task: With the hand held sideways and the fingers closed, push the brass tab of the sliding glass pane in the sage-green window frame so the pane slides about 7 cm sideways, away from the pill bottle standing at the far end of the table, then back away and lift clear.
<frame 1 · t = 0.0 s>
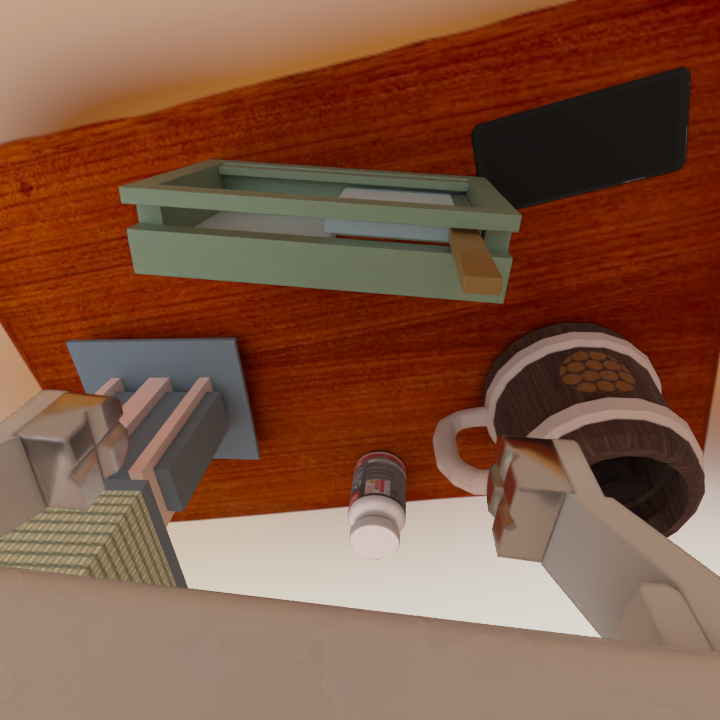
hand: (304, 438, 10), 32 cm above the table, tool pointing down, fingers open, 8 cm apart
desk lamp: (178, 389, 50), on the table
smartphone: (574, 146, 36), on the table
window frame: (345, 200, 39), on the table
mug: (532, 389, 46), on the table
pill bottle: (380, 468, 53), on the table
window pane: (402, 225, 28), point 11 cm above the table, slide at 0.0 cm
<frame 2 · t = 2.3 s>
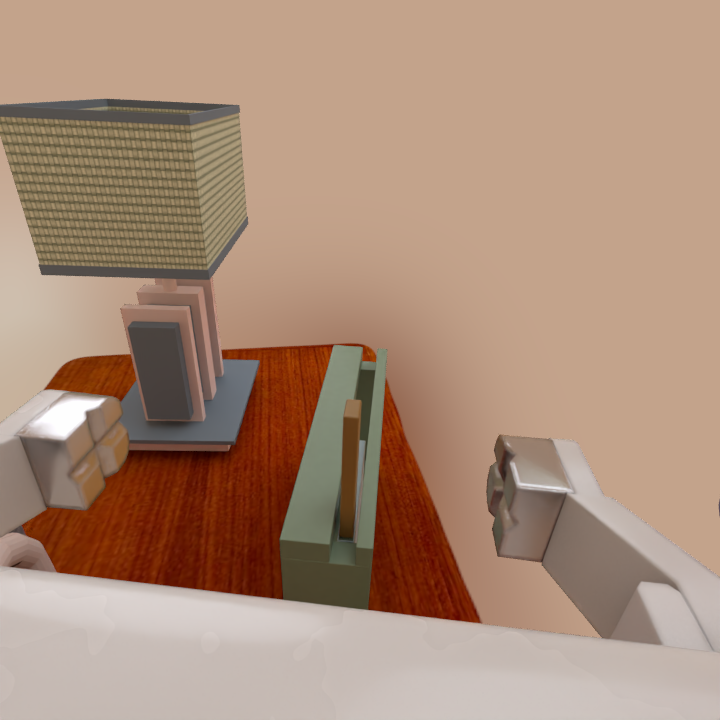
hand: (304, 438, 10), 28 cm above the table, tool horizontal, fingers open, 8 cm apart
desk lamp: (191, 412, 57), on the table
window frame: (343, 546, 41), on the table
window pane: (352, 494, 32), point 11 cm above the table, slide at 0.0 cm
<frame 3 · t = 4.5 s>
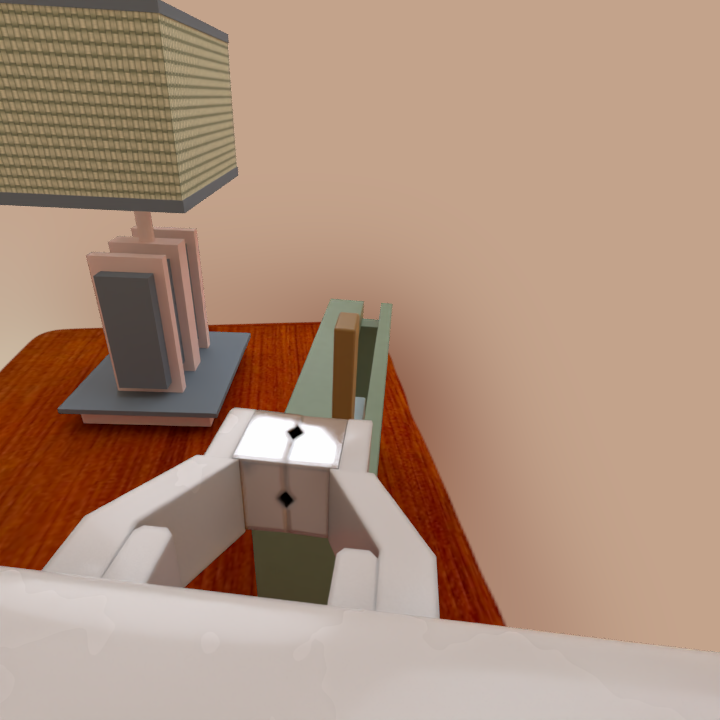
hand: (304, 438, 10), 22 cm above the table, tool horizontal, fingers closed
desk lamp: (172, 386, 51), on the table
window frame: (338, 531, 35), on the table
window pane: (348, 457, 25), point 11 cm above the table, slide at 0.0 cm
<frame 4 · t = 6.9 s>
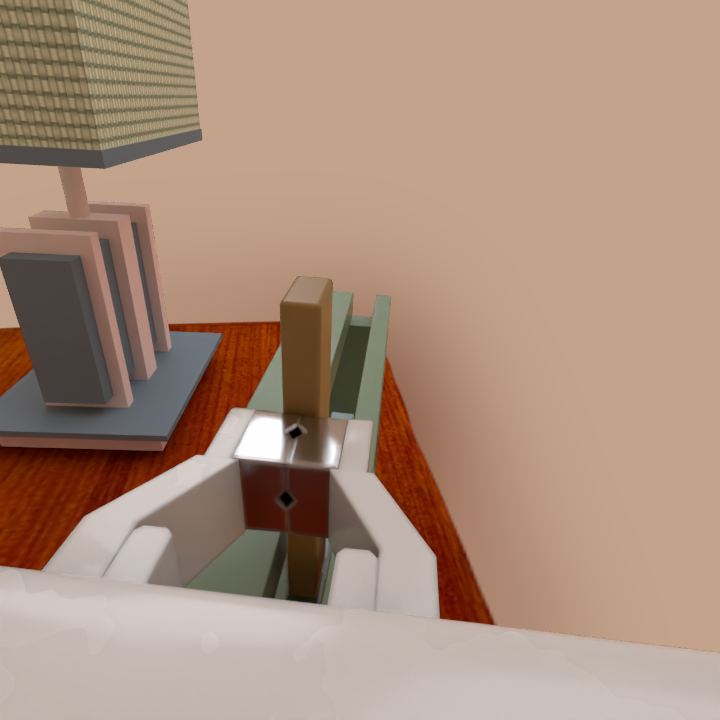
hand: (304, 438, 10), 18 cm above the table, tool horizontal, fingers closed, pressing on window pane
desk lamp: (122, 398, 42), on the table
window frame: (316, 603, 26), on the table
window pane: (326, 506, 17), point 11 cm above the table, slide at 1.1 cm, touching gripper
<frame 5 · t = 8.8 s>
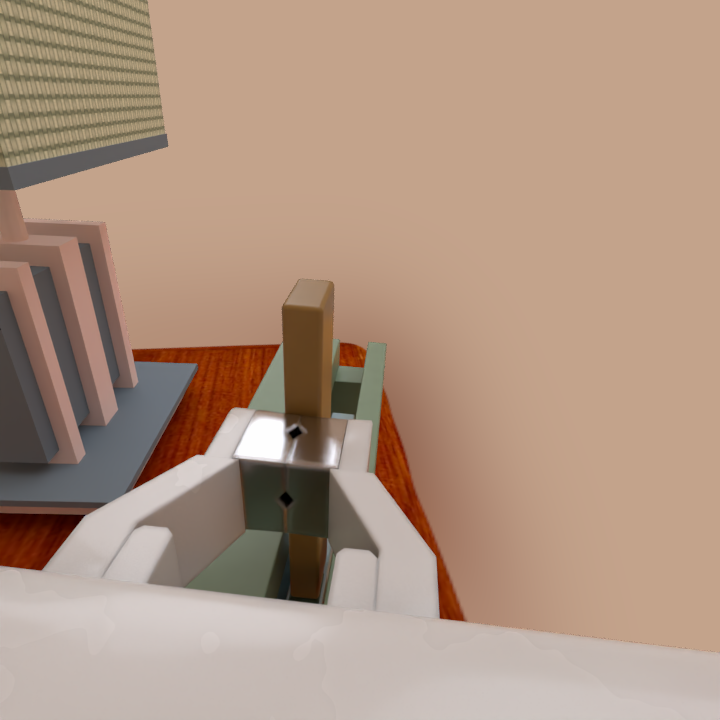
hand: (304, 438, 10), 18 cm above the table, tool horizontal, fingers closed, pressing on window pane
desk lamp: (78, 444, 36), on the table
window pane: (327, 506, 17), point 11 cm above the table, slide at 7.5 cm, touching gripper
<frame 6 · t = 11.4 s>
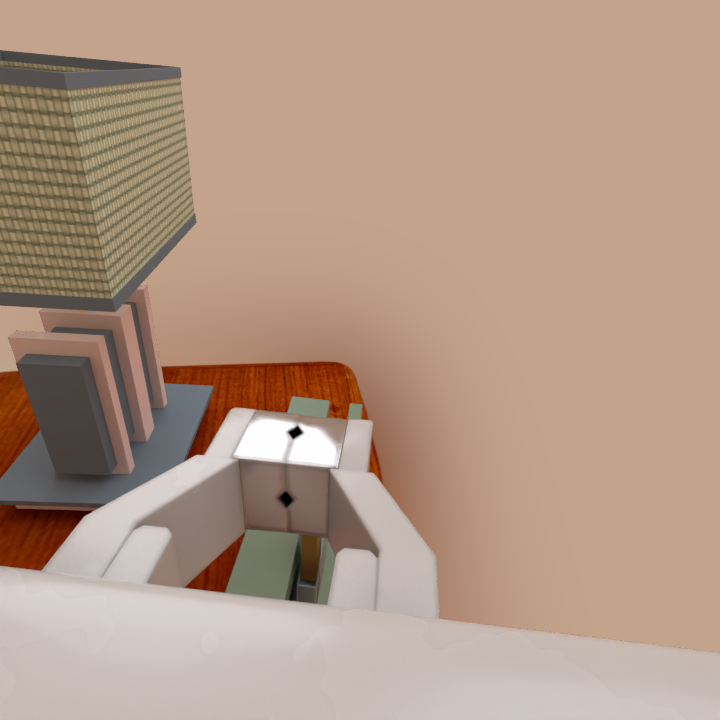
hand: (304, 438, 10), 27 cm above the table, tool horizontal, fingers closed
desk lamp: (122, 454, 46), on the table
window frame: (294, 667, 31), on the table
window pane: (320, 523, 28), point 11 cm above the table, slide at 7.5 cm
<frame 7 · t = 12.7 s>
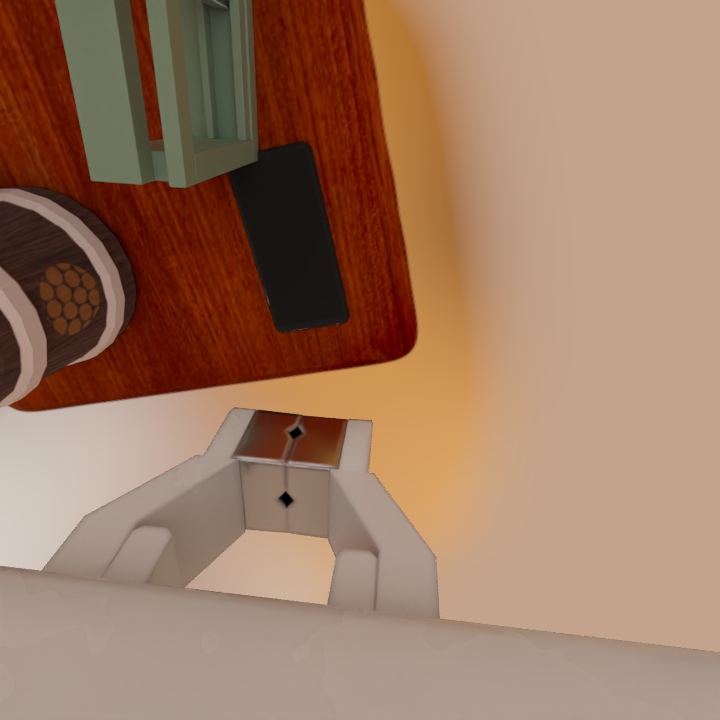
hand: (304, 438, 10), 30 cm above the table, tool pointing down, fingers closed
smartphone: (293, 244, 40), on the table
mug: (48, 244, 41), on the table
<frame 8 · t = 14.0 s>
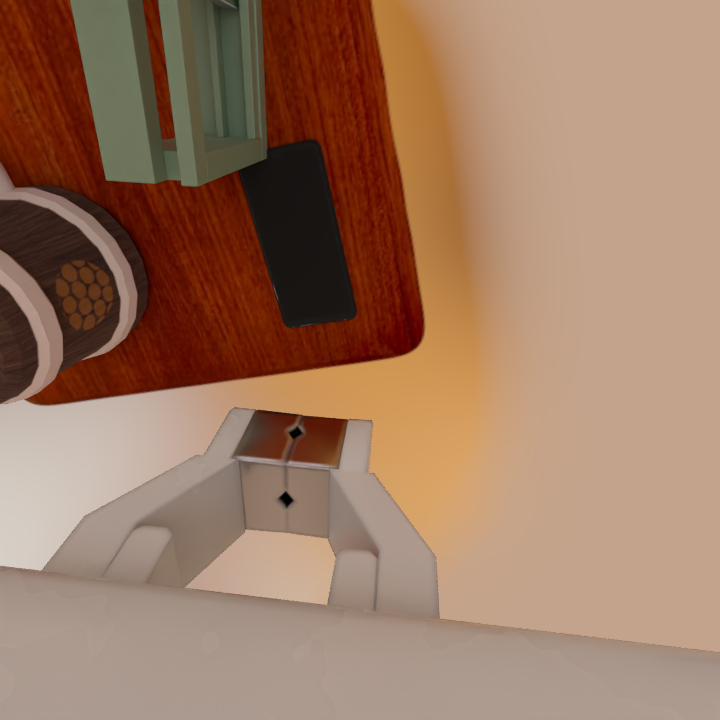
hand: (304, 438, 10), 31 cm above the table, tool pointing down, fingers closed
smartphone: (302, 240, 40), on the table
mug: (62, 241, 42), on the table
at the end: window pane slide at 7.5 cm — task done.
